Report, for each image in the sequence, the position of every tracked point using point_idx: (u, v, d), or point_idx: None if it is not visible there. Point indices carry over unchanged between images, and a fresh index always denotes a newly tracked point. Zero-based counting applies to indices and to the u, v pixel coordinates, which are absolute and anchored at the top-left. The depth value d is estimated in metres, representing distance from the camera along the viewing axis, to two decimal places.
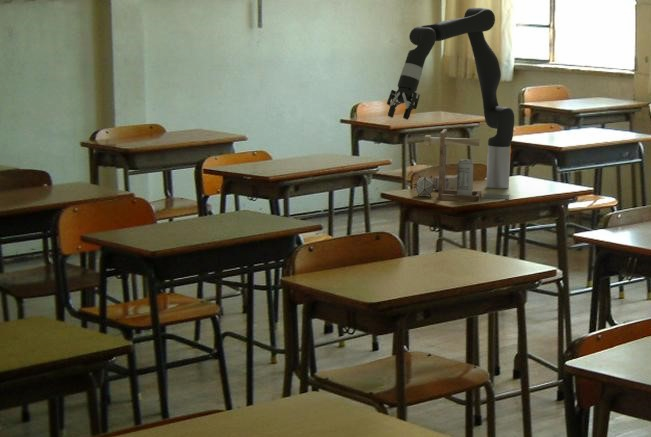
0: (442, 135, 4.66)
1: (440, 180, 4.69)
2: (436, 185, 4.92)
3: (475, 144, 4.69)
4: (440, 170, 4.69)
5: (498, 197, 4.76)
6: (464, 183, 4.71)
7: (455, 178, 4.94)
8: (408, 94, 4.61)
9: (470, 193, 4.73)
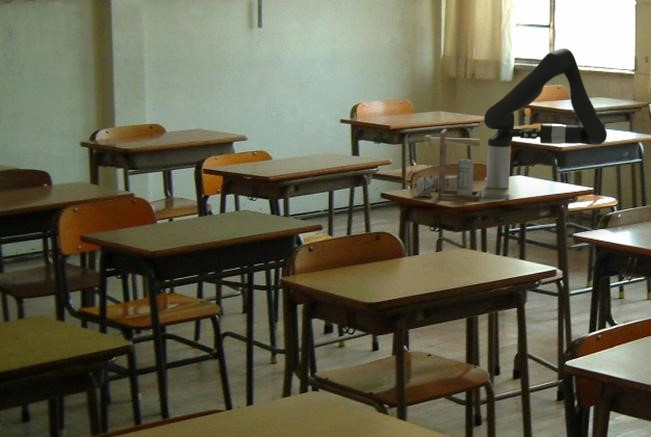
0: (442, 135, 4.66)
1: (440, 180, 4.69)
2: (436, 185, 4.91)
3: (475, 144, 4.69)
4: (440, 170, 4.69)
5: (498, 197, 4.76)
6: (464, 183, 4.71)
7: (455, 178, 4.94)
8: None
9: (470, 193, 4.73)
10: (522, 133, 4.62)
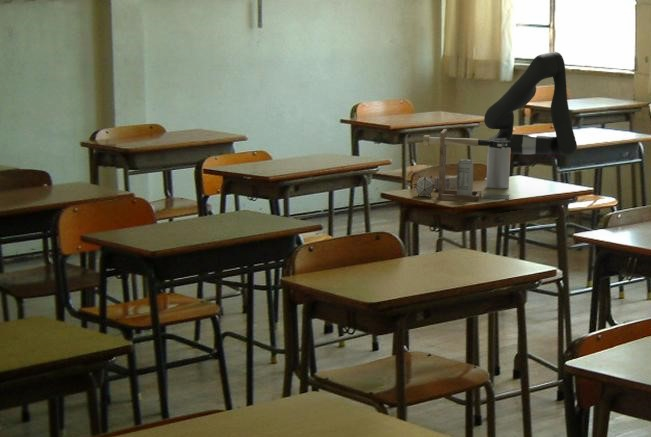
0: (442, 135, 4.66)
1: (440, 180, 4.69)
2: (437, 185, 4.91)
3: (474, 144, 4.70)
4: (440, 170, 4.69)
5: (498, 197, 4.76)
6: (464, 183, 4.71)
7: (456, 178, 4.94)
8: None
9: (470, 193, 4.73)
10: (490, 142, 4.67)
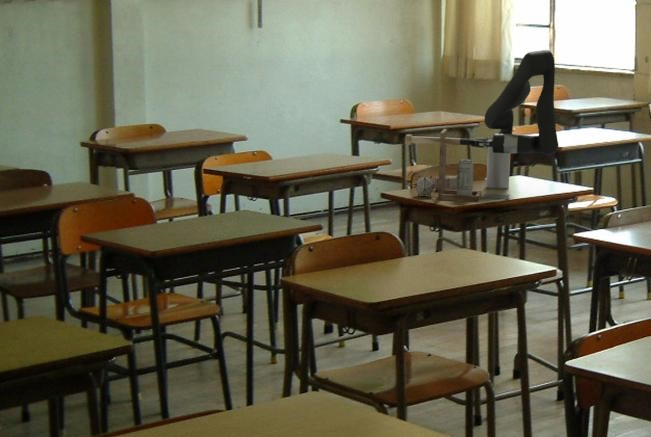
0: (442, 135, 4.66)
1: (440, 180, 4.69)
2: (437, 185, 4.91)
3: (456, 143, 4.71)
4: (440, 170, 4.69)
5: (498, 197, 4.76)
6: (464, 183, 4.71)
7: (456, 178, 4.94)
8: None
9: (470, 193, 4.73)
10: (471, 141, 4.68)
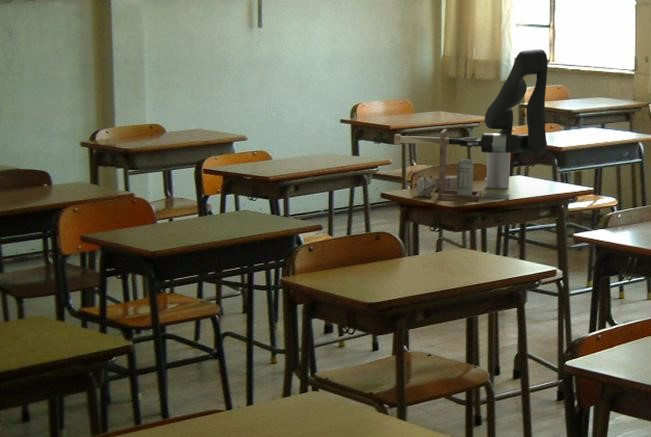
0: (442, 135, 4.66)
1: (440, 180, 4.69)
2: (438, 185, 4.91)
3: (445, 143, 4.72)
4: (440, 170, 4.69)
5: (498, 197, 4.76)
6: (464, 183, 4.71)
7: (456, 178, 4.94)
8: None
9: (470, 193, 4.73)
10: (460, 141, 4.69)
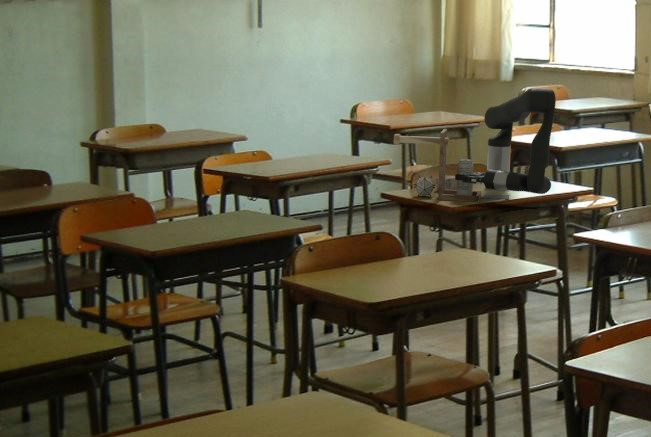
0: (442, 135, 4.66)
1: (440, 180, 4.69)
2: None
3: (444, 143, 4.72)
4: (440, 170, 4.69)
5: (498, 197, 4.76)
6: (464, 182, 4.71)
7: None
8: None
9: (470, 193, 4.73)
10: (463, 177, 4.67)
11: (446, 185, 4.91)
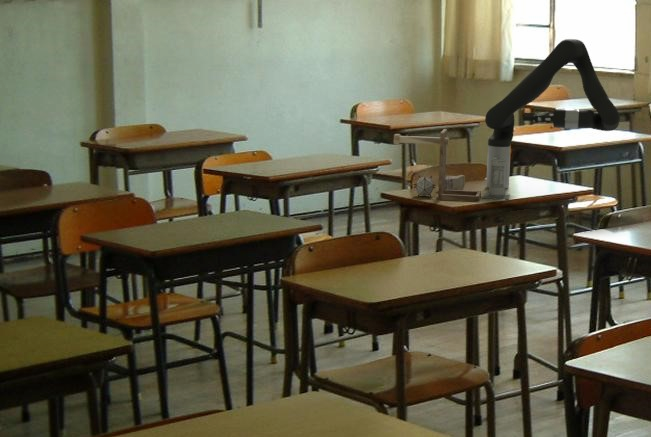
0: (442, 135, 4.66)
1: (440, 180, 4.69)
2: None
3: (444, 143, 4.72)
4: (440, 170, 4.69)
5: (498, 197, 4.76)
6: (500, 181, 4.75)
7: (458, 178, 4.93)
8: None
9: (504, 191, 4.77)
10: (536, 117, 4.64)
11: (448, 185, 4.90)
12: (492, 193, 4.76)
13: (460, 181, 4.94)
